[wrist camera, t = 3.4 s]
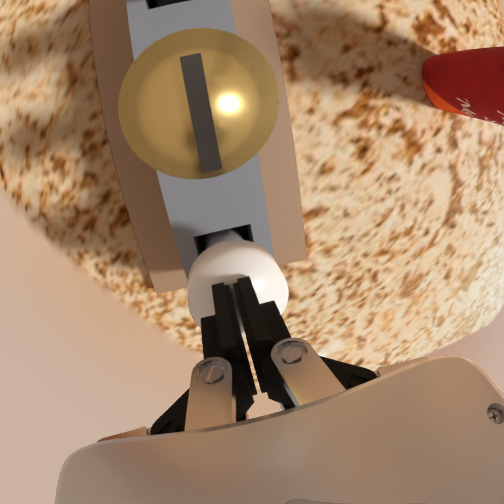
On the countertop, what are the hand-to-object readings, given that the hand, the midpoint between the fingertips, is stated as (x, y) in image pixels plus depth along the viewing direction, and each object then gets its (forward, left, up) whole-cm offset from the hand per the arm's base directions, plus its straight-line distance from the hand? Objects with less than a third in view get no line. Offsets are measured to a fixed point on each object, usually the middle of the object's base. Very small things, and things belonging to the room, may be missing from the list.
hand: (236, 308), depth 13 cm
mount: (-8, 0, -12) cm, 14 cm away
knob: (0, 0, -9) cm, 9 cm away
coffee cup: (-10, +24, -12) cm, 29 cm away
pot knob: (-8, 0, -7) cm, 11 cm away
